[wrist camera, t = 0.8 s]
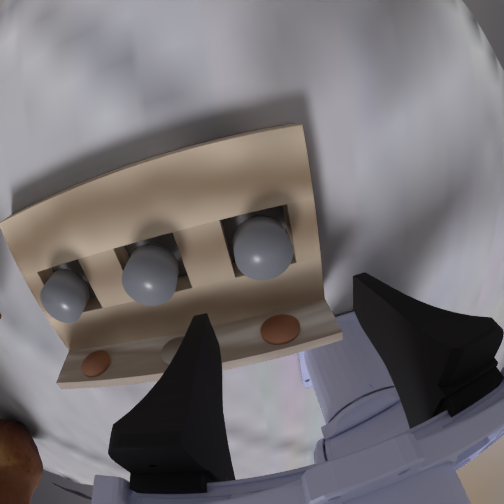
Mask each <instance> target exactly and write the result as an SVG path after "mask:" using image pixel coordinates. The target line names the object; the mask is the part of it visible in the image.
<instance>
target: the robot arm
mask: <svg viewBox="0 0 504 504" xmlns="http://www.w3.org/2000/svg"><path fill="white" fill-rule="evenodd" d="M353 310H354V311H353V312H350V313H347V314H344V315H340V316H337V317H335V318H336V320H337V322H338V324H339V326H340V328H341V330H342V332H343V340H340V341H337V342H334V343H331V344H327V345H324V346H320V347H317V348H314V349H310V350H306V351H303V352H299V353H298V355H299V361H300V368H301V375H302V382H303V386H304V388H310V387H314V390H315V393H316V396H317V399H318V402H319V405H320V408H321V411H322V414H323V417H324V419H325V422H326V425H325V426H323V427H321V429H322V433H323V436H324V438H323V439H321V440H319V441H318V442H317V445H316V448H315V451H314V463H315V464H313V465H310V466H306V467H302V468H298V469H294V470H289V471H285V472H280V473H275V474H270V475H265V476H259V477H253V478H247V479H240V480H235V476H234V471H233V467H232V462H231V457H230V452H229V447H228V441H227V435H226V429H225V422H224V415H223V401H222V360H221V353H220V346H219V342H218V340H217V337H216V335H215V332H214V330H213V327H212V325H211V322H210V320H209V317H208V314H207V313H204V314H200V315H195V316H194V317H193V318H192V320H191V323H190V325H189V327H188V329H187V332H186V334H185V336H184V338H183V340H182V342H181V344H180V346H179V348H178V350H177V352H176V354H175V355H174V357H173V359H172V361H171V362H170V364H169V366H168V367H167V369H166V370H165V372H164V373H163V375H162V376H161V378H160V379H159V380H158V382H157V383H156V384H155V386H154V387H153V388H152V389H151V390H150V391H149V393H148V394H147V395H146V396H145V397H144V398H143V399H142V400H141V401H140V402H139V403H138V404H137V405H136V406H135V407H134V408H133V409H132V410H131V411H130V412H128V413H127V414H126V415H125V416H123V417H122V418H121V419H120V420H119V421H117V422H116V423H115V424H113V428H112V431H111V437H110V444H109V450H108V454H109V456H110V457H111V459H113V460H114V461H115V462H116V463H117V464H119V465H120V466H122V467H123V468H124V469H126V470H127V471H129V472H130V473H131V475H130V482H129V481H127V480H125V479H123V478H120V477H114V476H103V475H95V478H94V485H93V494H92V503H91V504H471V503H470V501H469V499H468V496H467V494H466V492H465V490H464V488H463V486H462V484H461V482H460V480H459V477H458V475H457V473H456V470H458V469H459V468H461V467H462V466H464V465H465V464H467V463H468V462H469V461H471V460H472V459H474V458H475V457H476V456H478V455H479V454H480V453H482V452H483V451H484V450H486V449H487V448H488V447H489V446H491V445H492V444H493V443H494V442H496V441H497V440H498V439H499V438H501V437H502V436H503V435H504V367H503V369H502V370H501V372H500V371H499V370H498V369H497V367H496V366H497V364H498V362H497V360H496V359H495V358H494V357H495V355H496V353H497V351H498V349H499V347H500V345H501V342H502V339H503V334H504V332H503V329H502V328H501V327H500V326H499V325H498V324H497V323H496V322H495V321H494V320H493V319H492V318H490V317H478V316H470V315H464V314H459V313H455V312H451V311H447V310H443V309H440V308H437V307H434V306H431V305H428V304H426V303H423V302H421V301H418V300H416V299H414V298H412V297H410V296H407V295H405V294H403V293H401V292H400V291H398V290H396V289H394V288H392V287H390V286H388V285H387V284H385V283H383V282H381V281H380V280H378V279H376V278H374V277H372V276H371V275H369V274H367V273H361V274H358V275H355V276H353Z"/></svg>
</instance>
